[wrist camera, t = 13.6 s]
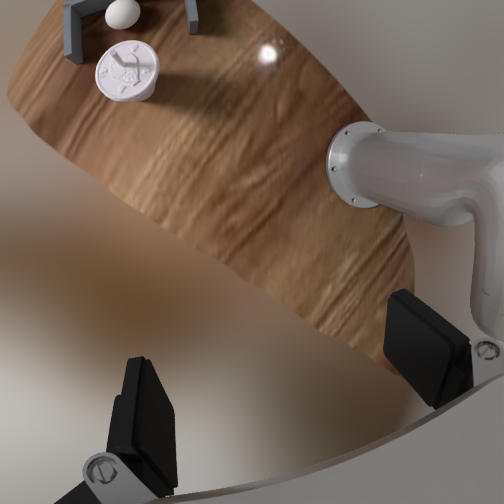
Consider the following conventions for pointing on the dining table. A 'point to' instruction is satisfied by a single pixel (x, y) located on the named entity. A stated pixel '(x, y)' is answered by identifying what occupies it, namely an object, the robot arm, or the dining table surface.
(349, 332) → the dining table surface
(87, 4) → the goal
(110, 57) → the smoothie
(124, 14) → the ball
